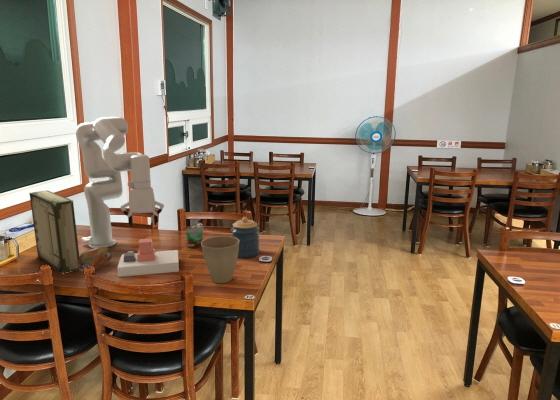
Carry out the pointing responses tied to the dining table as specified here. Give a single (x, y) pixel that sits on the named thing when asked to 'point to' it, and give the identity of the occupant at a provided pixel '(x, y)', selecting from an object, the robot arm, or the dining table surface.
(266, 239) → the dining table surface
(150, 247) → the cap
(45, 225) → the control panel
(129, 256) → the block
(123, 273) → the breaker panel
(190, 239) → the food container
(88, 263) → the tin
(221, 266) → the plant pot
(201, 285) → the dining table surface
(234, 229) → the canister
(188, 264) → the dining table surface
